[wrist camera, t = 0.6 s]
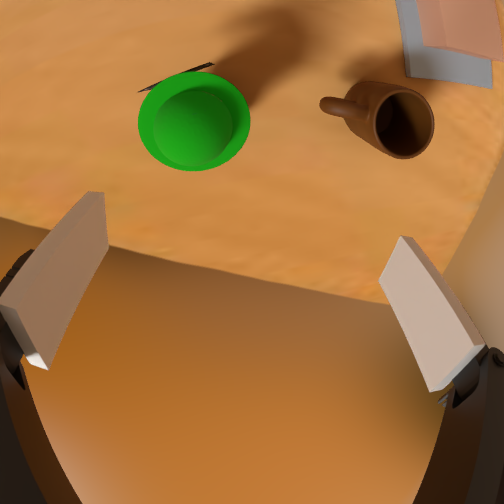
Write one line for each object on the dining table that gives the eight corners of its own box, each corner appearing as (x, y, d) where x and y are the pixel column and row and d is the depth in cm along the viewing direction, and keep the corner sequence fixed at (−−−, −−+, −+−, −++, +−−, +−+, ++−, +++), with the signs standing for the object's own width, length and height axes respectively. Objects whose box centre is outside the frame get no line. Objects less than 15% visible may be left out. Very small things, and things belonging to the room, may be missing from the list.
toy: (233, 62, 28) (228, 52, 15) (256, 129, 32) (267, 169, 20) (160, 89, 29) (107, 104, 16) (186, 153, 34) (154, 206, 21)
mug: (301, 127, 32) (321, 147, 25) (308, 67, 28) (332, 66, 20) (388, 143, 33) (426, 167, 26) (399, 89, 29) (442, 99, 21)
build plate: (380, -55, 17) (402, -69, 11) (469, -27, 16) (495, -31, 10) (406, 76, 28) (433, 80, 23) (487, 87, 27) (514, 95, 22)
